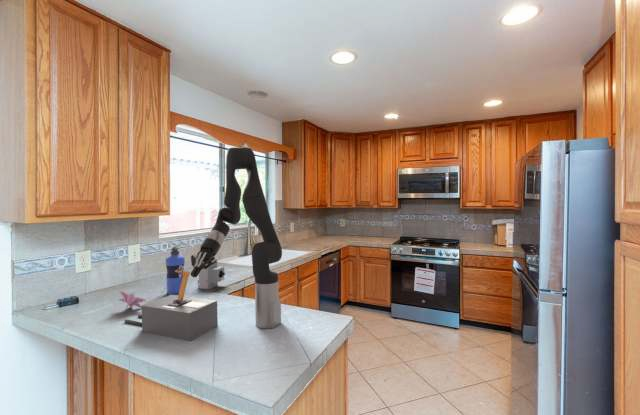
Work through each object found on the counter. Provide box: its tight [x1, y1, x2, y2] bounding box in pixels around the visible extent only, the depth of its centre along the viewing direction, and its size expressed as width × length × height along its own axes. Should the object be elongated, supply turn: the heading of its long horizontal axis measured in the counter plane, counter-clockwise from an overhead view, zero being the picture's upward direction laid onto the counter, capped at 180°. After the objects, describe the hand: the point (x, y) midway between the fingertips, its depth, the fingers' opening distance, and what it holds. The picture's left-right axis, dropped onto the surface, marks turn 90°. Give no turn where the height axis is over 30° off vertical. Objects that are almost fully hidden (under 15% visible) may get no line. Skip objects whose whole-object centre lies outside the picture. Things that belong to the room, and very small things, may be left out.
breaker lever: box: [177, 271, 191, 302], centre depth 118 cm, size 2×1×12 cm, turn 69°
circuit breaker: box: [197, 260, 226, 290], centre depth 173 cm, size 8×14×15 cm, turn 78°
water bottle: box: [165, 246, 186, 296], centre depth 163 cm, size 9×9×25 cm
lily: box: [117, 290, 147, 315], centre depth 136 cm, size 12×12×10 cm
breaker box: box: [124, 294, 219, 342], centre depth 119 cm, size 39×14×11 cm, turn 69°
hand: (193, 276), depth 122 cm, fingers closed
